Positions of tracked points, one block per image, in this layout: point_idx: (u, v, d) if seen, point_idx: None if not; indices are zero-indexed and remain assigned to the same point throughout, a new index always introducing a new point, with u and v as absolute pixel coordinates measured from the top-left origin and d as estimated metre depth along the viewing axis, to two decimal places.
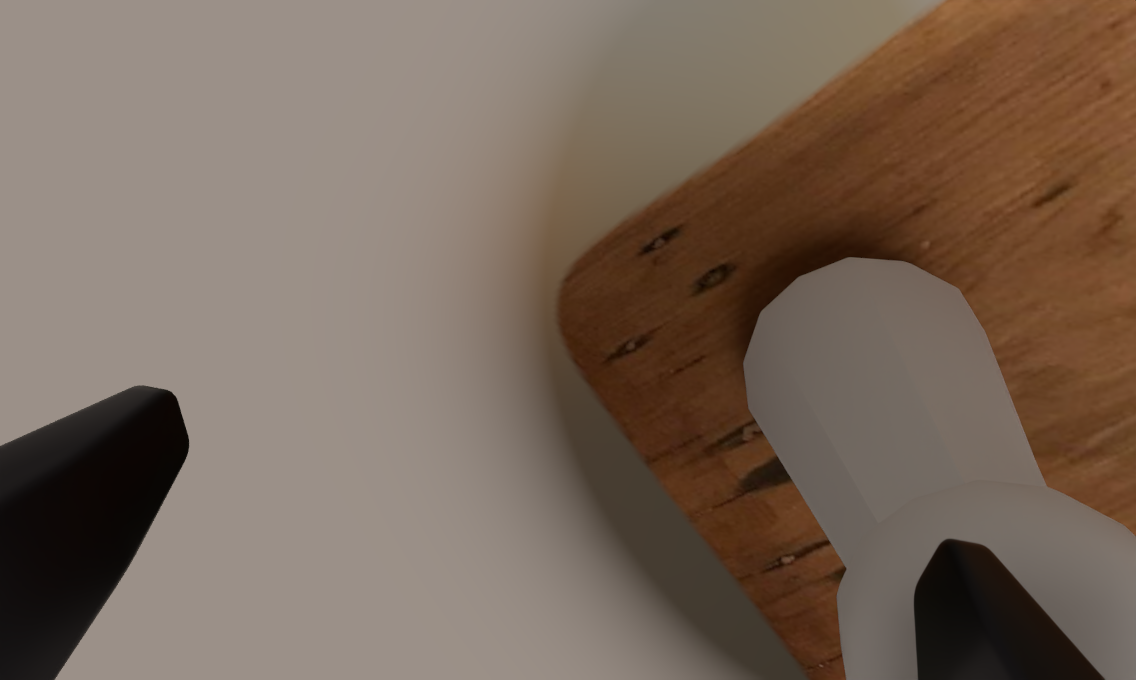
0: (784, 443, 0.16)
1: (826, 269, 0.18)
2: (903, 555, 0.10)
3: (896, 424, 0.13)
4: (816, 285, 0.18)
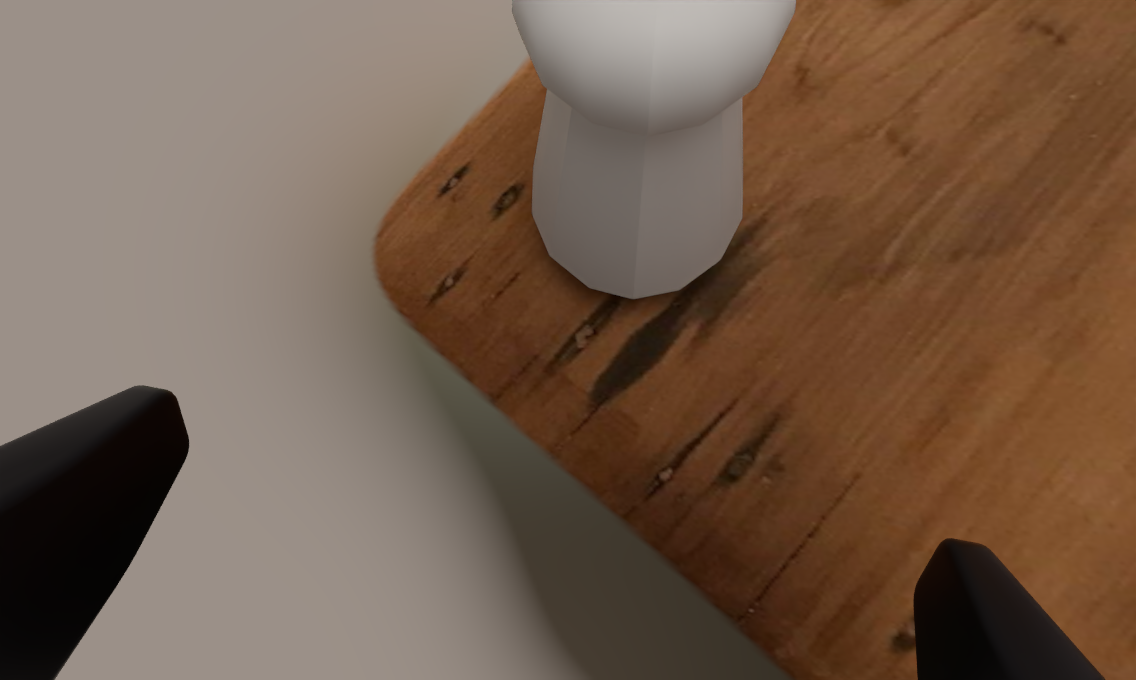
0: (550, 183, 0.17)
1: None
2: None
3: None
4: None
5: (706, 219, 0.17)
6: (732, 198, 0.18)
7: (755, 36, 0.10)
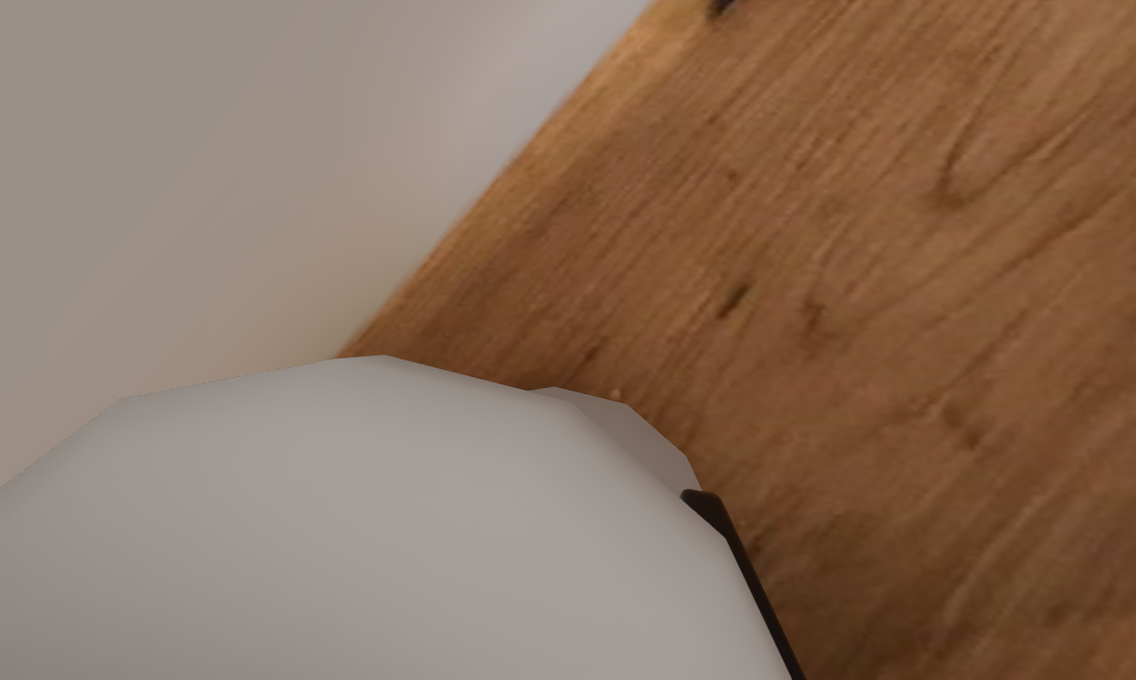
0: None
1: None
2: None
3: None
4: None
5: None
6: None
7: None
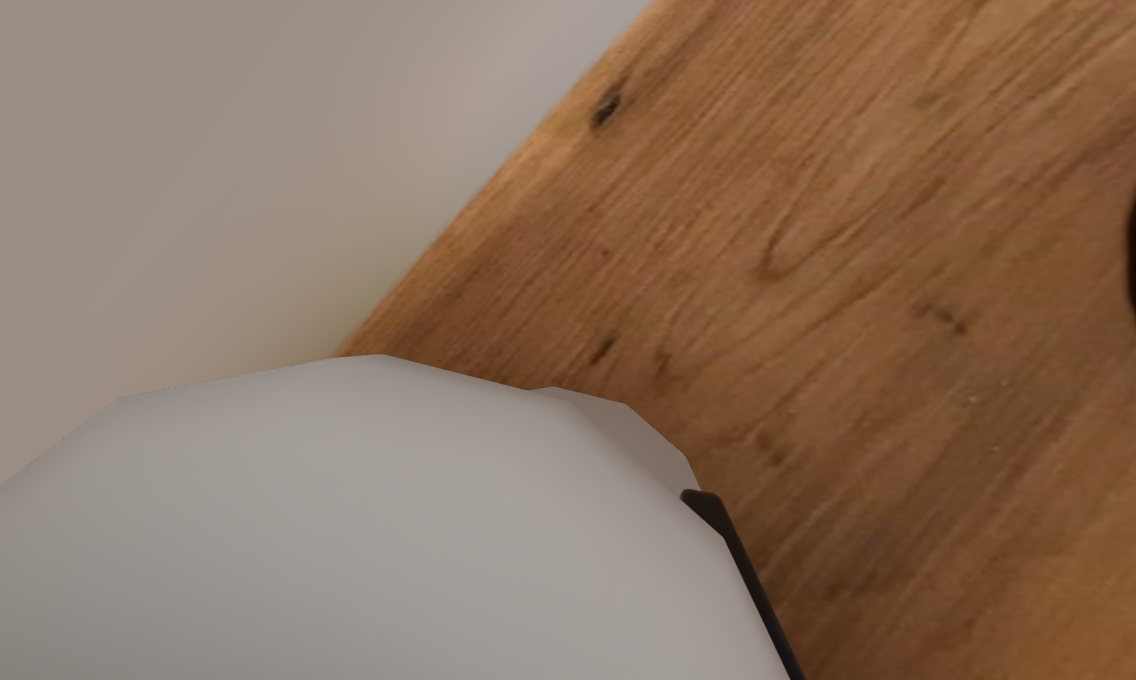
0: None
1: None
2: None
3: None
4: None
5: None
6: None
7: None
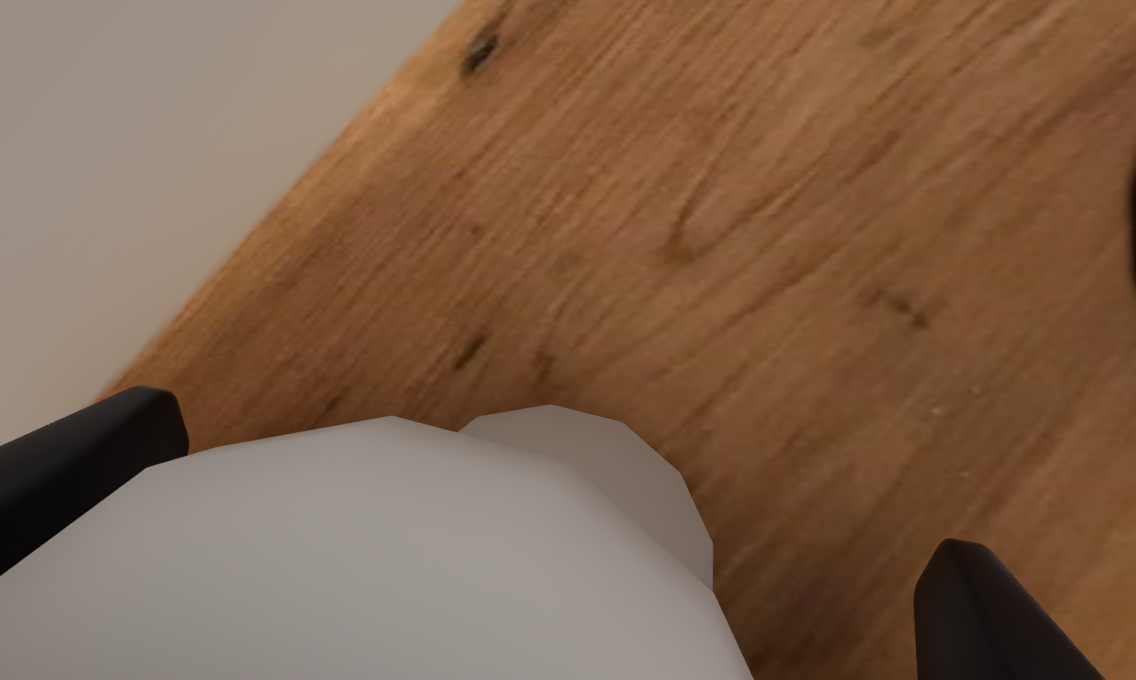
0: None
1: None
2: None
3: None
4: None
5: None
6: None
7: None
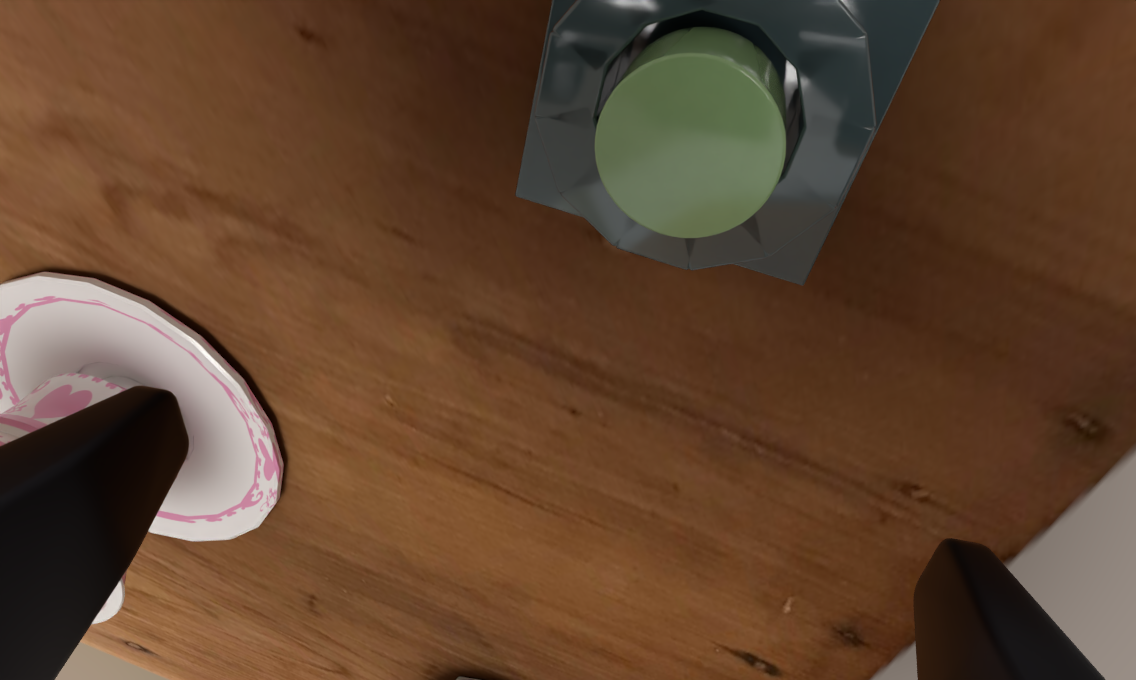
0: None
1: None
2: None
3: None
4: None
5: None
6: None
7: None
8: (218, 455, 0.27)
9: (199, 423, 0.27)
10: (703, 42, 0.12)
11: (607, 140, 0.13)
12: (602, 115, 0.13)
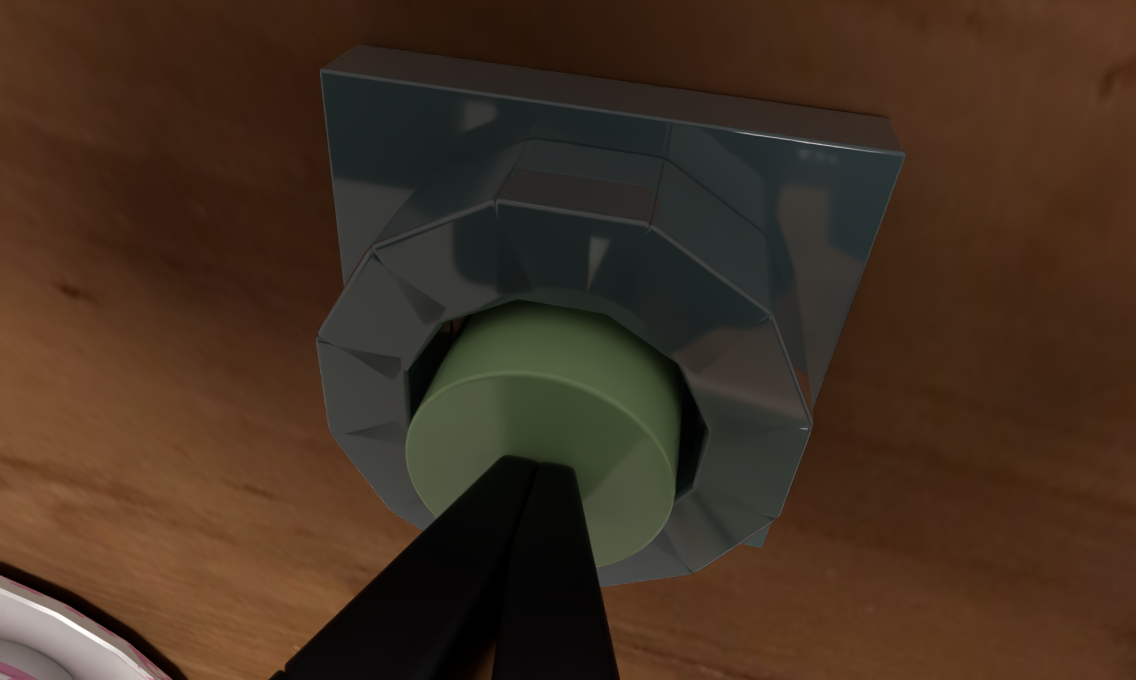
0: None
1: None
2: None
3: None
4: None
5: None
6: None
7: None
8: None
9: None
10: (532, 330, 0.08)
11: (424, 472, 0.09)
12: (408, 444, 0.09)
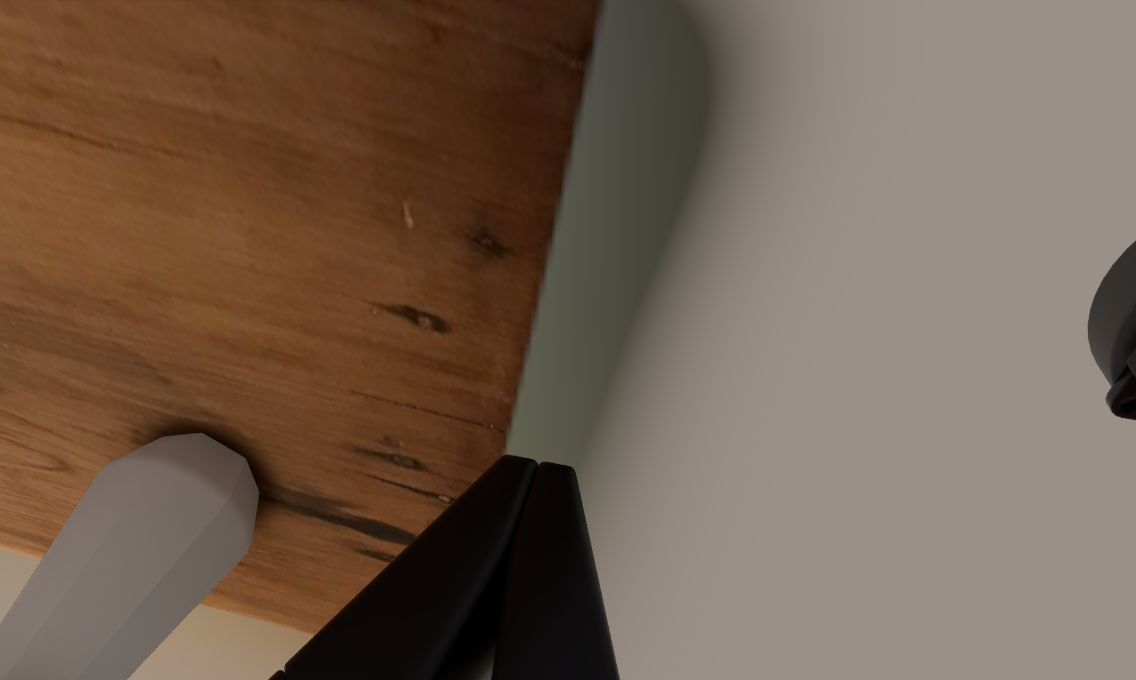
0: None
1: None
2: None
3: None
4: None
5: (111, 551, 0.23)
6: (95, 523, 0.24)
7: None
8: None
9: None
10: None
11: None
12: None
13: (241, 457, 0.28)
